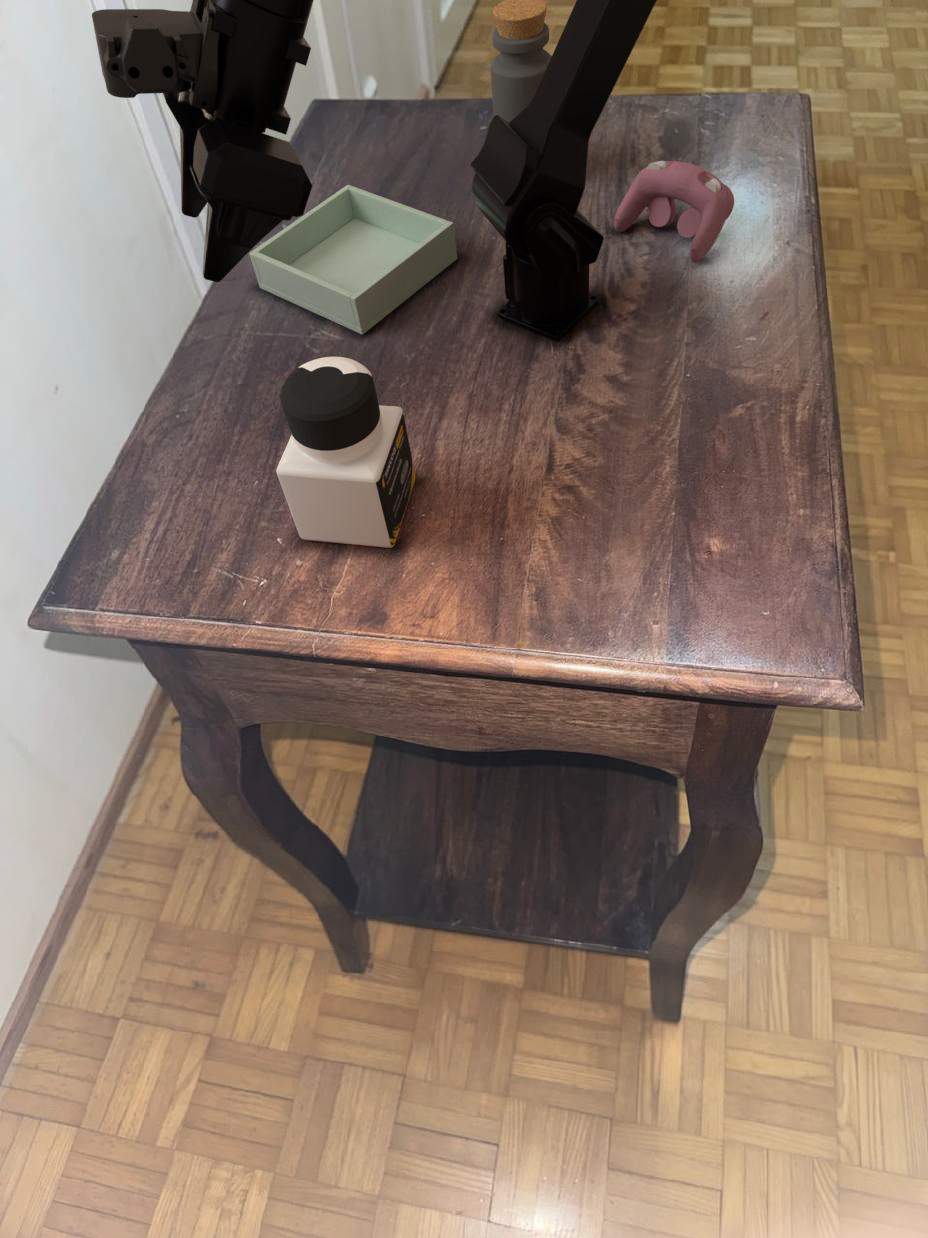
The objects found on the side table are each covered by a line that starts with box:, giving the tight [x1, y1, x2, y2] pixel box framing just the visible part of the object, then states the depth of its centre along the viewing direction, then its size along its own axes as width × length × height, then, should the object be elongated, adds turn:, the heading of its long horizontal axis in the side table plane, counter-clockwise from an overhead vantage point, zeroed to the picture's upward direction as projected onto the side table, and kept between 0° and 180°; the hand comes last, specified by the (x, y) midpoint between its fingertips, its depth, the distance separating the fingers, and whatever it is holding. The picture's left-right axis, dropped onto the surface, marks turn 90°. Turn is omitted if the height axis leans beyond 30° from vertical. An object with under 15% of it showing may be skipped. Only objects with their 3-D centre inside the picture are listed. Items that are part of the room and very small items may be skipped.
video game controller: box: [613, 160, 735, 263], centre depth 81 cm, size 10×5×7 cm, turn 47°
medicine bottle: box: [276, 356, 416, 549], centre depth 62 cm, size 7×7×12 cm
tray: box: [248, 184, 458, 336], centre depth 83 cm, size 13×13×4 cm
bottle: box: [490, 0, 552, 122], centre depth 86 cm, size 6×6×15 cm
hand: (199, 245), depth 62 cm, fingers open, 9 cm apart
